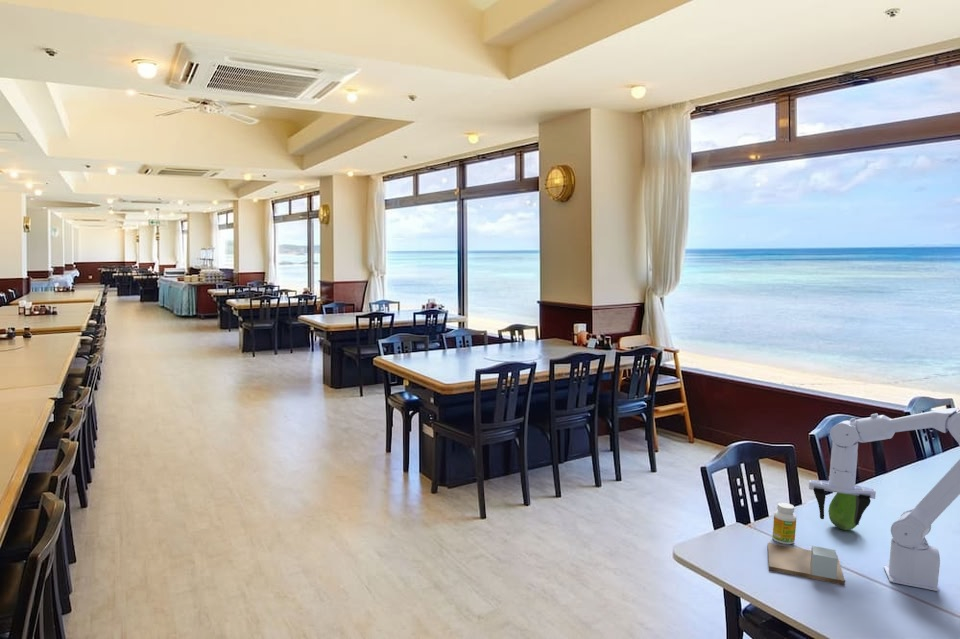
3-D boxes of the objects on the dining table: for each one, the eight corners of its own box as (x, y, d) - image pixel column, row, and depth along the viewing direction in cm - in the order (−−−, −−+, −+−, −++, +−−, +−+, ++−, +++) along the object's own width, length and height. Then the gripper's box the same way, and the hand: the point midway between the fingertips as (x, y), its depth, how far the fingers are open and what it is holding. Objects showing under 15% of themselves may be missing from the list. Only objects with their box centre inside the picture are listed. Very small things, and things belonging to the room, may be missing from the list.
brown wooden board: (837, 559, 159) (837, 555, 159) (844, 585, 146) (844, 581, 146) (767, 546, 165) (767, 542, 165) (768, 570, 152) (769, 566, 152)
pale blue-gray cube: (833, 569, 151) (835, 549, 150) (836, 579, 146) (837, 558, 146) (810, 565, 153) (811, 545, 152) (812, 574, 148) (813, 554, 148)
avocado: (851, 537, 172) (855, 494, 171) (822, 527, 178) (825, 486, 177) (864, 530, 176) (868, 489, 175) (835, 520, 183) (839, 480, 182)
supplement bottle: (782, 545, 166) (784, 510, 165) (767, 536, 171) (770, 502, 170) (799, 543, 167) (801, 508, 166) (784, 535, 172) (787, 500, 171)
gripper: (873, 468, 159) (869, 519, 160) (809, 459, 165) (805, 509, 166) (879, 476, 153) (874, 530, 154) (811, 467, 158) (807, 519, 159)
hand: (838, 520), depth 159 cm, fingers open, 7 cm apart
